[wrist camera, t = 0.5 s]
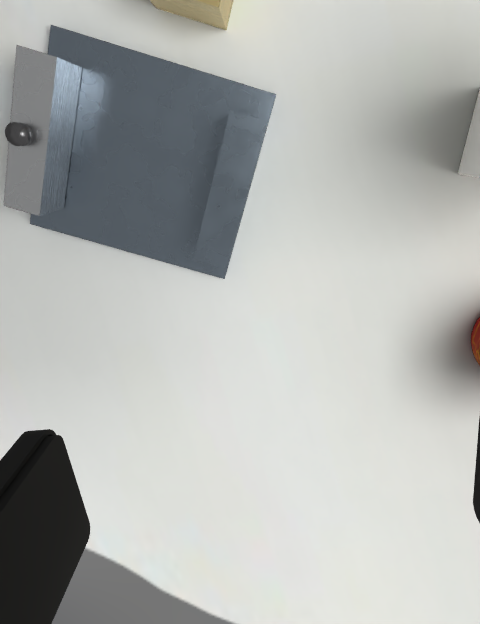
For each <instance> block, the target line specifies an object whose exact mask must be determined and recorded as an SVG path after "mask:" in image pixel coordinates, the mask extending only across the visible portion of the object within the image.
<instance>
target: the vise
mask: <svg viewBox="0 0 480 624" xmlns="http://www.w3.org/2000/svg"><path fill="white" fill-rule="evenodd" d="M48 55H52V56H55V57H58V58H60V59H63V60H65V61H67V62H70V63H72V64H75V65H77V66H79V67H82V73H81V80H80V88H79V96H78V103H77V111H76V119H75V126H74V134H73V142H72V149H71V157H70V164H69V172H68V180H67V187H66V195H65V203H64V208H63V209H59V210H56V211H53V212H50V213H47V214H44V215H41V216H38V215H34V214H31V220H30V224H33V225H36V226H40V227H43V228H47V229H50V230H54V231H58V232H61V233H65V234H68V235H72V236H75V237H79V238H82V239H86V240H89V241H93V242H96V243H100V244H103V245H107V246H110V247H114V248H117V249H121V250H124V251H128V252H131V253H135V254H138V255H142V256H145V257H149V258H152V259H156V260H159V261H163V262H166V263H170V264H174V265H177V266H181V267H184V268H188V269H191V270H195V271H198V272H202V273H205V274H209V275H212V276H216V277H219V278H223V279H225V275H226V272H227V268H228V265H229V261H230V258H231V254H232V251H233V247H234V243H235V240H236V236H237V233H238V229H239V226H240V222H241V218H242V215H243V211H244V208H245V204H246V201H247V197H248V193H249V190H250V186H251V183H252V179H253V176H254V172H255V168H256V165H257V161H258V158H259V154H260V151H261V147H262V143H263V140H264V136H265V133H266V129H267V126H268V122H269V118H270V115H271V111H272V108H273V104H274V101H275V97H276V94H273V93H270V92H267V91H264V90H260V89H257V88H254V87H251V86H247V85H244V84H241V83H238V82H234V81H231V80H228V79H225V78H221V77H218V76H215V75H212V74H209V73H205V72H202V71H199V70H196V69H192V68H189V67H186V66H183V65H179V64H176V63H173V62H170V61H166V60H163V59H160V58H157V57H153V56H150V55H147V54H144V53H141V52H137V51H134V50H131V49H128V48H124V47H121V46H118V45H115V44H111V43H108V42H105V41H102V40H98V39H95V38H92V37H89V36H86V35H82V34H79V33H76V32H73V31H69V30H66V29H63V28H60V27H56V26H53V25H51V28H50V38H49V48H48Z"/></svg>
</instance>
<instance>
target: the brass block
mask: <svg viewBox="0 0 480 624" xmlns="http://www.w3.org/2000/svg"><path fill="white" fill-rule="evenodd" d="M150 1H151V2H152V3H153V5H154V6H155V7H156V8H157V9H161V10H164V11H167V12H170V13H173V14H176V15H180V16H183V17H186V18H189V19H192V20H195V21H199V22H202V23H205V24H208V25H211V26H214V27H218V28H221V29H224V30H227V26H228V22H229V17H230V13H231V9H232V4H233V0H150Z"/></svg>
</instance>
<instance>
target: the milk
mask: <svg viewBox="0 0 480 624" xmlns="http://www.w3.org/2000/svg"><path fill="white" fill-rule="evenodd" d="M458 174H459V175H464V176H471V177H477V178H480V89H479V93H478V97H477V101H476V105H475V109H474V113H473V116H472V120H471V124H470V128H469V132H468V136H467V140H466V144H465V147H464V151H463V155H462V159H461V163H460V167H459V171H458Z"/></svg>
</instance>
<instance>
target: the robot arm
mask: <svg viewBox="0 0 480 624" xmlns="http://www.w3.org/2000/svg"><path fill="white" fill-rule="evenodd" d="M473 505H474V510H475V514H476V516H477V519H478V521H479V522H480V418H479V431H478V444H477V457H476V470H475V483H474V496H473ZM89 535H90V523H89V519H88V516H87V513H86V510H85V507H84V504H83V500H82V497H81V494H80V491H79V488H78V485H77V482H76V478H75V475H74V472H73V469H72V466H71V463H70V459H69V456H68V453H67V450H66V447H65V444H64V441H63V438H62V437H61V436H60V435H56V433H55V432H54V431H53V430H50V429H49V430H36V431H27V432H24V433H23V434H22V435H21V436H20V437H19V439H18V440H17V441H16V442H15V443H14V445H13V446H12V447H11V448H10V450H9V451H8V452H7V453H6V454H5V456H4V457H3V458H2V459H1V460H0V624H51V623H52V621H53V619H54V616H55V614H56V612H57V610H58V607H59V605H60V603H61V601H62V598H63V596H64V594H65V592H66V589H67V587H68V585H69V582H70V580H71V578H72V576H73V573H74V571H75V569H76V567H77V564H78V562H79V560H80V557H81V555H82V553H83V551H84V549H85V546H86V544H87V542H88V539H89Z"/></svg>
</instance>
